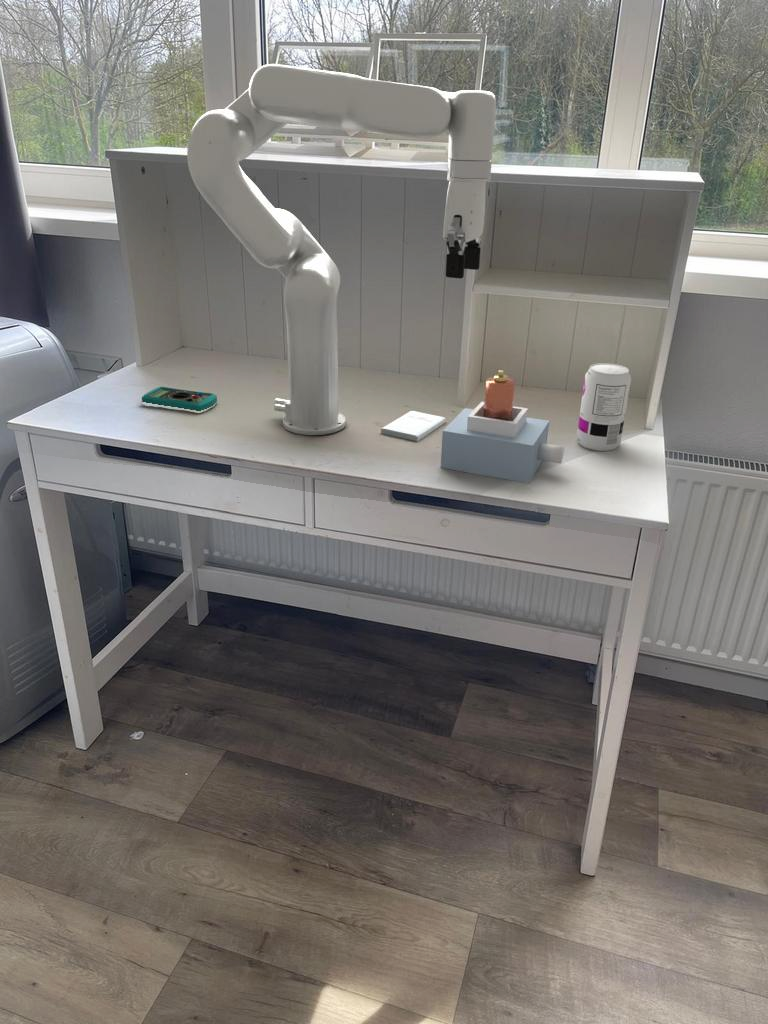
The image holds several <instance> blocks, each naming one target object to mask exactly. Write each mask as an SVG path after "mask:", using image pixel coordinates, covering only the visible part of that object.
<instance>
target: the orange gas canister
mask: <svg viewBox="0 0 768 1024" xmlns="http://www.w3.org/2000/svg"><path fill="white" fill-rule="evenodd" d="M515 387H516V380H515V379H513V378H510V377H509V376H508V375H506V374H505V371H504V370H503V369H500V370H498V374H495V375H494V376H491V377H487V378H486V379H485V389H484V390H485V391H484V401H483V402H484V413H483V417H486V418H492V419H499V420H505V421H511V420H512V410H513V406H514V399H515Z"/></svg>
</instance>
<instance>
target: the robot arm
mask: <svg viewBox="0 0 768 1024" xmlns="http://www.w3.org/2000/svg"><path fill="white" fill-rule="evenodd" d="M496 109H497V101H496V95H494V93H493V92H491V91H487V90H473V89H472V90H458V91H456V92H449V91H443V90H439V89H437V88H436V87H431V86H424V85H423V86H422V85H416V84H415V85H414V84H408V83H401V82H393V81H387V80H386V81H385V80H378V79H372V78H367V77H364V76H360V75H357V74H352V73H346V72H338V71H331V70H330V71H329V70H322V69H315V68H307V67H299V66H292V65H285V64H277V63H270V64H269V63H268V64H264V65H262V66H260V67H259V68H257V69H256V70H255V72H254V73H253V75H252V76H251V79H250V81H249V87H248V88H247V89H246V90H245V91H244V92H243V93H242V94H241V95H240V96H238V98H236V99H235V100H234V101H233V102H232V103H230V104H229V105H228V106H227V107H225V108H224V109H213V110H210V111H207V112H206V113H203V115H201V116H200V117H199V118H198V120H196V122H195V123H194V125H193V126H192V130H191V131H190V135H189V138H188V142H187V151H186V152H187V153H186V154H187V156H186V157H187V166H188V171H189V173H190V176H191V179H192V181H193V183H194V185H195V187H196V189H197V191H198V192H199V193H200V195H201V196H202V198H203V199H204V200H205V201H206V203H207V204H208V205H209V206H210V208H211V209H212V210H213V211H214V212H215V214H216V215H218V217H219V218H220V219H221V220H222V221H223V223H224V224H225V226H226V227H227V228H228V230H230V232H231V233H232V234H233V235H234V237H236V239H237V240H238V241H239V242H240V244H241V245H242V246H243V247H244V248H245V249H246V251H248V253H249V254H250V256H251V257H252V258H253V259H254V260H255V262H257V263H258V264H260V265H261V266H263V267H265V268H269V269H276V270H277V271H278V272H279V273H280V275H282V277H284V279H285V283H284V289H283V301H284V302H283V304H284V310H285V311H284V312H285V322H286V334H287V335H286V336H287V337H286V338H287V358H288V359H287V360H288V384H289V385H288V386H289V400H288V399H285V398H280V397H279V398H278V397H276V398H275V399H274V407H273V408H274V409H273V410H274V411H275V412H284V414H285V416H284V417H283V419H282V425H283V427H284V429H285V430H287V431H288V432H291V433H294V434H299V435H304V436H323V435H329V434H334V433H337V432H340V431H342V429H344V428H345V427H346V424H347V418H346V416H345V415H343V414H342V413H340V412H339V374H338V373H339V369H338V368H339V367H338V366H339V364H338V362H339V361H338V359H339V358H338V357H339V355H338V353H339V351H338V350H339V349H338V319H337V318H338V316H337V314H338V312H337V304H338V303H337V300H338V292H339V289H340V285H341V274H340V270H339V268H338V266H337V265H336V263H335V262H334V260H333V259H332V258H331V256H329V254H328V253H327V252H326V250H325V249H324V248H323V247H322V246H321V245H320V243H319V242H318V241H317V239H316V238H315V237H314V236H313V235H312V234H311V232H310V231H309V230H308V229H307V228H306V226H305V225H304V224H303V223H302V221H301V220H299V218H297V216H295V215H294V214H293V213H291V211H288V210H286V209H282V208H275V207H274V205H272V203H271V202H270V201H269V200H268V198H266V196H265V195H264V194H263V193H262V191H261V190H260V189H259V187H258V186H257V185H256V184H255V183H254V182H253V181H252V180H251V178H249V177H248V176H247V175H246V173H245V172H244V171H243V169H242V167H241V166H240V162H241V161H243V160H245V159H246V158H249V156H251V155H253V153H254V152H256V151H257V150H258V149H259V148H260V147H261V146H263V144H265V143H266V142H268V141H269V140H270V139H271V138H272V137H274V136H275V135H276V134H277V133H278V132H279V131H280V130H282V129H283V128H284V127H285V126H286V125H287V124H292V125H301V126H309V127H316V128H317V127H318V128H323V129H331V130H337V131H345V132H368V133H370V132H371V133H378V134H384V135H393V136H400V137H401V136H402V137H407V138H415V139H421V140H431V139H432V140H433V139H435V138H438V137H443V136H448V154H447V155H448V156H447V171H446V172H447V174H446V176H447V177H446V180H447V181H449V182H448V187H447V194H446V200H445V210H444V219H443V230H442V231H443V232H442V238H443V240H445V241H446V246H447V248H446V259H445V261H446V263H445V277H446V278H449V279H450V278H451V279H463V278H464V275H465V270H475V271H477V270H479V269H480V262H481V252H482V251H481V250H482V249H481V246H482V238H481V237H482V235H483V232H484V225H485V213H486V192H487V191H486V182H488V183H489V182H491V175H492V160H493V149H494V148H493V147H494V137H495V134H494V133H495V121H496Z"/></svg>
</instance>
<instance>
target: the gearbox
mask: <svg viewBox="0 0 768 1024" xmlns="http://www.w3.org/2000/svg"><path fill="white" fill-rule="evenodd" d="M528 411H529V408H526V407H521V406H514V405H513V410H512V420H511V421H505V420H499V419H492V418H486V417H483V413H484V401H481V402H480V403H479V404H478V405H477V406H476V407H475V408H473V409H472V408H466V407H465V408H463V409H462V410H461V411H460V412H459V413H458V415H456V416H455V417H454V419H452V421H451V422H450V423H449V424H448V425H447V426H446V427H445V428H444V429H443V430H442V435H441V453H440V454H441V455H440V468H442V469H448V470H452V471H458V472H463V473H470V474H474V475H481V476H485V477H491V478H496V479H504V480H508V481H515V482H519V483H525V484H530V482H531V481H532V479H533V478H534V477H535V474H536V472H537V470H539V467H540V466H541V464H542V463H543V461H544V462H549V463H555V464H556V463H557V464H561V463H562V462H563V458H564V454H565V446H564V445H557V444H549V443H548V435H549V428H550V427H549V426H550V420H546V419H539V418H533V417H528V413H529V412H528Z"/></svg>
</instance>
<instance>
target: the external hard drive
mask: <svg viewBox="0 0 768 1024" xmlns="http://www.w3.org/2000/svg"><path fill="white" fill-rule="evenodd" d="M445 423H446V417H444V416H439V415H436V414H435V415H434V414H430V413H425V412H420V411H416V410H410V411H408V412H407V413H405V414H403V415H402V416H400V417H398V418H397V419H395V420H393V421H391V422H390V423H388V424H387V425H385V426H383V427H382V428H381V429H380V434H383V435H386V436H387V435H388V436H391V437H396V438H399V439H404V440H409V441H413V442H414V441H415V442H420V441H421V440H422V439H424V438H425V437H426V436H428V435H429V434H431V433H432V432H433V431H435V430H436V429H438V428H440V427H441V426H442V425H444V424H445Z"/></svg>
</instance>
